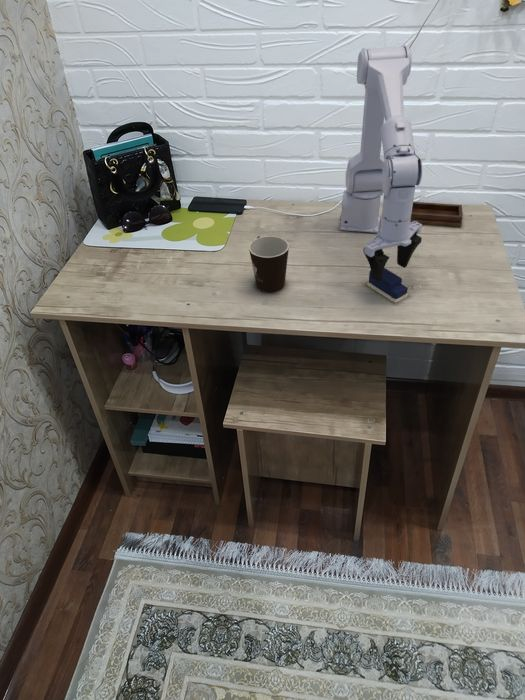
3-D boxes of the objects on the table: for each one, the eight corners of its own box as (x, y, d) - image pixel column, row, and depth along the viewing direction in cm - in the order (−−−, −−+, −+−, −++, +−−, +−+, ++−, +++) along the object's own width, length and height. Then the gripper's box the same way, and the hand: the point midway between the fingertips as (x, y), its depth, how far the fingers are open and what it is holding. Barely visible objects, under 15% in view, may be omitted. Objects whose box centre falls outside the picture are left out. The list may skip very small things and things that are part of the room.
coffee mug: (288, 296, 126) (287, 258, 119) (249, 295, 127) (246, 257, 120) (292, 266, 134) (291, 229, 127) (255, 265, 135) (253, 228, 128)
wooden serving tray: (395, 222, 146) (396, 214, 145) (397, 207, 152) (398, 199, 150) (460, 227, 143) (462, 218, 141) (460, 212, 149) (461, 203, 147)
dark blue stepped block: (366, 285, 127) (368, 271, 125) (379, 278, 129) (380, 264, 126) (395, 303, 122) (397, 288, 119) (407, 296, 124) (409, 282, 121)
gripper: (385, 235, 107) (378, 293, 117) (436, 210, 113) (426, 267, 123) (358, 221, 112) (354, 278, 121) (410, 197, 118) (402, 253, 127)
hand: (389, 272), depth 122 cm, fingers open, 7 cm apart
